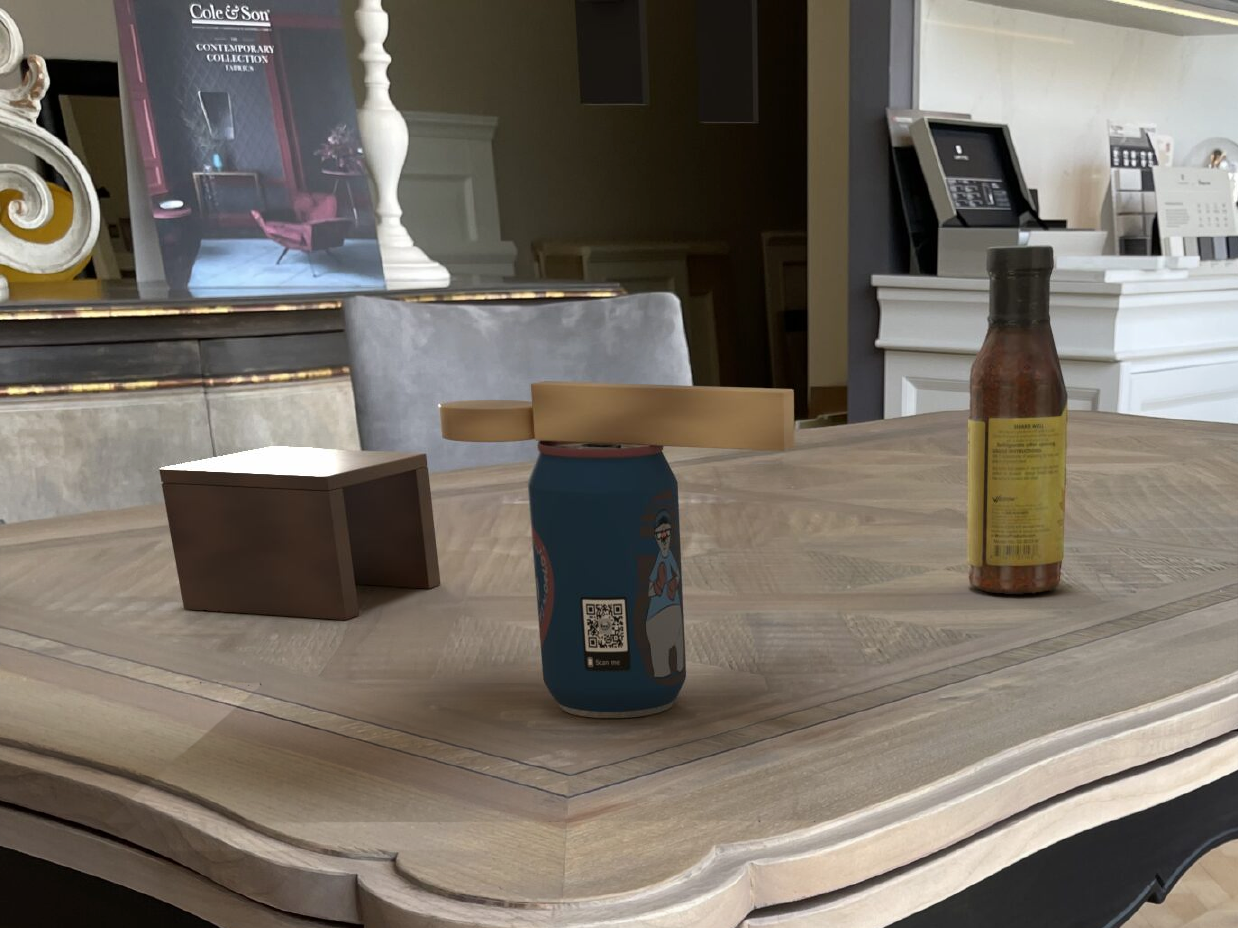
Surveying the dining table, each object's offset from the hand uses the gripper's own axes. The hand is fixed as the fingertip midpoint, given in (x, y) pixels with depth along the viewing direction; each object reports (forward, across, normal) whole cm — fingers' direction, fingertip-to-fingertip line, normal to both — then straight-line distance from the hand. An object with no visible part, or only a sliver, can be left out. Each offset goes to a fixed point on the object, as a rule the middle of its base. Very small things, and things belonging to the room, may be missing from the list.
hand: (676, 115), depth 74 cm
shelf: (+25, +16, +31) cm, 43 cm away
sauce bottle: (+25, +32, -10) cm, 42 cm away
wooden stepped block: (+13, -4, +3) cm, 14 cm away
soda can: (+25, -4, +3) cm, 26 cm away
